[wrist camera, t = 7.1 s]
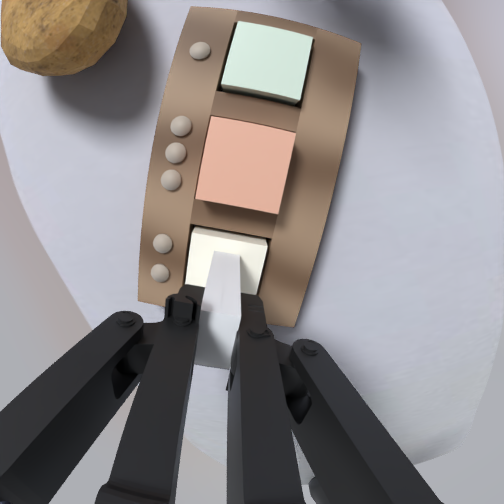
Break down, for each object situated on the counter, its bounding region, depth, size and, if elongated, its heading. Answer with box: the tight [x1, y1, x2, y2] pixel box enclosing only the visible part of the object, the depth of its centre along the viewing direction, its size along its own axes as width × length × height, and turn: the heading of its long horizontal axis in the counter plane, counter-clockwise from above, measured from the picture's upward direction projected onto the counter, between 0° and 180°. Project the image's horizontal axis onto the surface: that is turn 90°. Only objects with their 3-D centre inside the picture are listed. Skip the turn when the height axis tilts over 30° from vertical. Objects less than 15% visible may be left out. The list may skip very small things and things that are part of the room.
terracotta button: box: [195, 116, 296, 214], centre depth 15 cm, size 4×4×3 cm
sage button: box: [221, 21, 313, 106], centre depth 14 cm, size 4×4×3 cm
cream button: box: [185, 225, 268, 295], centre depth 18 cm, size 4×4×3 cm
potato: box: [1, 0, 128, 76], centre depth 9 cm, size 10×14×8 cm
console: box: [138, 6, 361, 327], centre depth 16 cm, size 20×11×3 cm, turn 168°
